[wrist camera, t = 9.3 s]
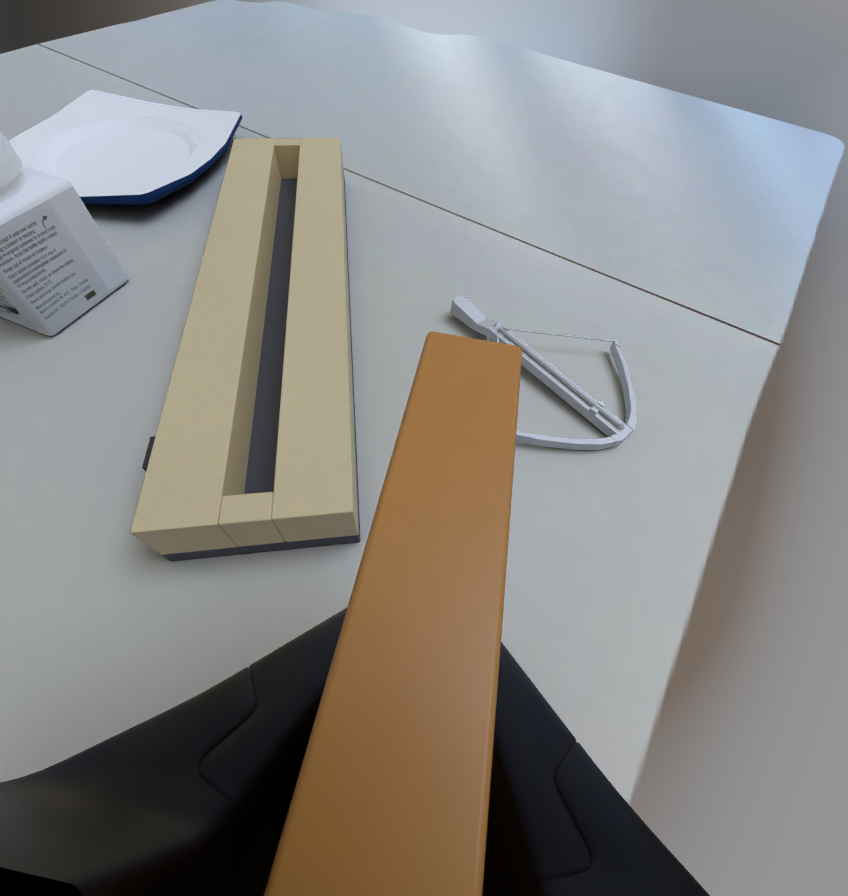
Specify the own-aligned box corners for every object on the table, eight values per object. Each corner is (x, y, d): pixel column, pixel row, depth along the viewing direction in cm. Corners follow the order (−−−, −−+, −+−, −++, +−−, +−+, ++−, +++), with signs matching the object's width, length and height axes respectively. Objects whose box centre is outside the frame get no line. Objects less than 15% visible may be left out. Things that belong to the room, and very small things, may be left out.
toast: (396, 927, 10) (407, 1975, 1) (339, 911, 10) (-3, 1800, 1) (447, 594, 15) (523, 344, 6) (408, 585, 15) (428, 328, 6)
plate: (162, 232, 39) (148, 202, 36) (-35, 196, 41) (-60, 165, 38) (260, 138, 50) (254, 110, 47) (102, 113, 52) (88, 85, 49)
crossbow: (667, 400, 31) (684, 382, 29) (558, 502, 26) (571, 488, 24) (507, 281, 36) (514, 259, 35) (393, 347, 32) (393, 326, 30)
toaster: (360, 542, 24) (353, 511, 20) (154, 563, 22) (110, 534, 19) (344, 181, 45) (339, 137, 42) (238, 183, 44) (225, 138, 41)
